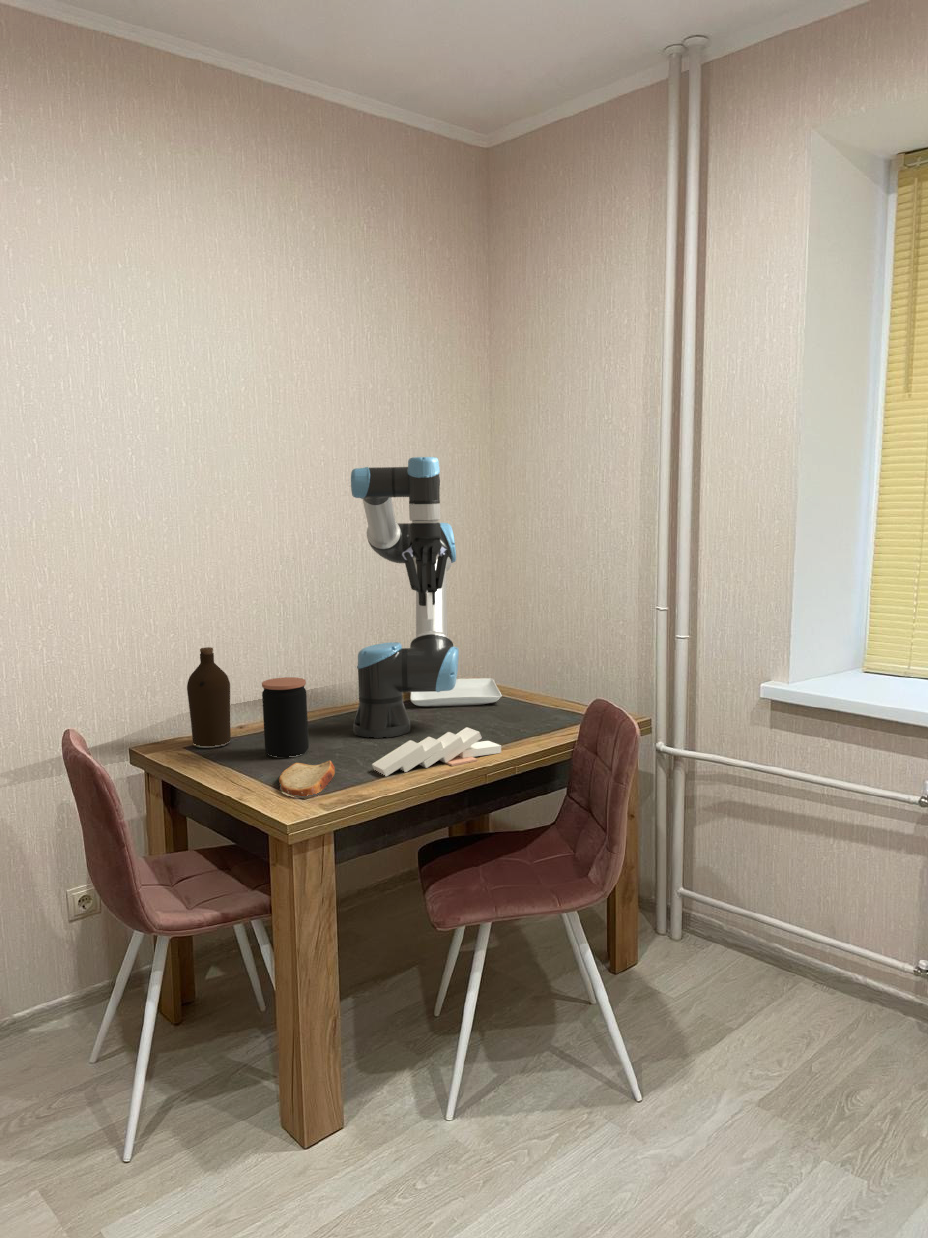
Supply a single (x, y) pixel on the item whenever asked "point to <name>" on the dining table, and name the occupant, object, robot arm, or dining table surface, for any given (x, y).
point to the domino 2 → (430, 749)
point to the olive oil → (209, 702)
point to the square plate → (460, 694)
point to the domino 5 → (481, 749)
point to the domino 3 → (449, 744)
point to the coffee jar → (285, 716)
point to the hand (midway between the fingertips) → (427, 618)
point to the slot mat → (460, 760)
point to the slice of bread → (306, 778)
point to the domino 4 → (468, 739)
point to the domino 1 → (398, 758)
